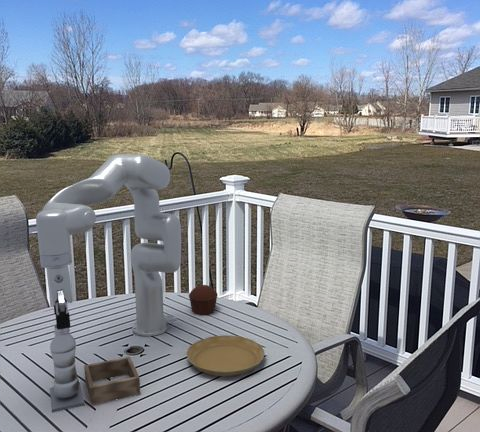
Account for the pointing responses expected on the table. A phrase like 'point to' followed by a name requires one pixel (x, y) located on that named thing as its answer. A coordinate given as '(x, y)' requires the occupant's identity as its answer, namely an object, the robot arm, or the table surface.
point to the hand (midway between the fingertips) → (62, 320)
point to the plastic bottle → (64, 363)
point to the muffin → (203, 300)
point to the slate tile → (66, 400)
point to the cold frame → (114, 388)
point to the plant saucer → (225, 355)
